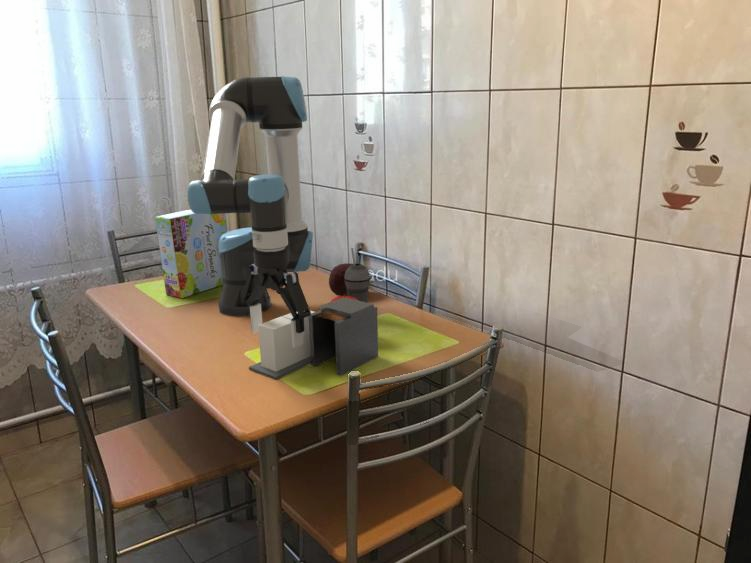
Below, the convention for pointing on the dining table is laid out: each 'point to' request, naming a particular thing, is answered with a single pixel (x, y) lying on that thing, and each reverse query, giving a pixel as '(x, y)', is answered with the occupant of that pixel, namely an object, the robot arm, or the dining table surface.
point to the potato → (338, 279)
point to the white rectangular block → (282, 343)
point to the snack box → (190, 251)
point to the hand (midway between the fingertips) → (277, 338)
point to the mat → (282, 372)
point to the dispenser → (344, 334)
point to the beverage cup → (357, 281)
